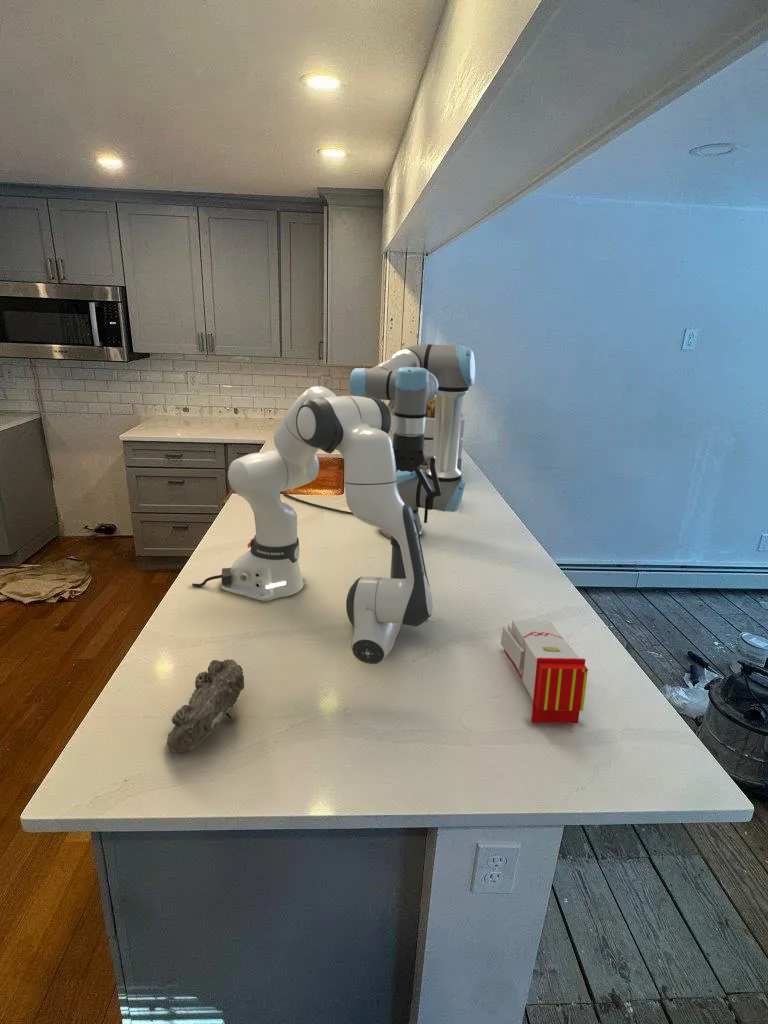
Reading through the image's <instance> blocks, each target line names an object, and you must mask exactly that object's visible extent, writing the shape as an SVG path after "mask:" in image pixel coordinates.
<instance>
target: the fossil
mask: <svg viewBox="0 0 768 1024" xmlns="http://www.w3.org/2000/svg"><path fill="white" fill-rule="evenodd" d="M243 670H244V669H243V667H242V665H240V664H237V662H236V661H235V660H234V659H232V658H231V659H227V658H226V659H224V660H223V661H222V660H217V659H212V660H211V661H210V663H209V665H208V666H207V671H201V672H199V673H198V674H197V675H196V676H195V680H194V684H195V685H194V687H195V689H194V690H193V693H192V694H191V697H190V698H189V700H188V704H184V705H182V706H181V707H180V709H177V710H176V711H175V713H174V715H173V716H172V718H171V723H172V724H173V727H172V730H171V731H170V732H168V734H167V738H166V741H167V742H166V745H167V749H168V750H169V751H173V752H174V753H176V754H178V753H182V752H188V751H189V752H192V751H193V750H195V748H196V747H197V746H199V744H200V743H201V742H203V741H204V740H205V739H206V738H207V737H208V736H209V735H210V734H211V733H212V732H214V730H215V729H217V727H218V726H219V724H220V722H221V721H222V720H223V719H224V718H225V716H226V717H227V719H229V720H233V717H232V715H230V714H229V710H230V709H231V708H234V706H235V704H236V703H237V702H238V699H239V697H240V695H241V693H242V691H243V690H245V689H244V688H245V675H244V671H243Z"/></svg>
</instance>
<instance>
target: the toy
mask: <svg viewBox="0 0 768 1024" xmlns="http://www.w3.org/2000/svg"><path fill="white" fill-rule="evenodd" d="M500 645H501V646H502V648H503V652H504V654H505V655H506V657H507V658H508V660H509V661H510V663H511V664H512V666H513V668H514V669H515V671H516V672H517V674H518V676H519V677H520V679H521V680H522V683H523V685H524V686H525V688H526V690H527V692H528V694H529V696H530V697H531V699H532V708H531V719H530V722H531V723H532V724H579V719H580V712H583V711H584V706H585V697H586V689H587V680H588V671H589V669H588V667H587V666H586V659H585V658H580V657H579V656H578V655H577V654H576V652H575V651H574V650H573V648H572V647H571V646H570V645H569V644H568V642H567V641H566V640H565V638H564V637H563V636H562V634H561V633H560V632H559V631H558V630H557V628H556V627H555V626H554V624H553V623H552V622H551V621H549V620H548V621H545V620H540V621H539V620H511V622H508V623H507V626H502V632H501V638H500Z"/></svg>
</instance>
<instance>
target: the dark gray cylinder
mask: <svg viewBox="0 0 768 1024" xmlns="http://www.w3.org/2000/svg"><path fill="white" fill-rule="evenodd" d="M390 559H391V561H390V578H394V579H405V578H406V574H405V569H404V563H403V558H402V553H401V548H396V547H393V546H392V545H391V558H390Z"/></svg>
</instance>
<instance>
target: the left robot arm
mask: <svg viewBox="0 0 768 1024" xmlns="http://www.w3.org/2000/svg"><path fill="white" fill-rule="evenodd" d="M387 405H388V404H387V403H386V402H385V401H384V400H380V399H377V398H373V397H368V396H366V397H359V396H353V395H336V394H335V393H334V392H333V391H332V390H330V389H329V388H327V387H325V386H320V385H314V386H311V387H309V388H307V389H306V390H304V391H303V393H301V394H300V395H299V396H298V397H297V398H296V400H295V401H294V402H293V403H292V405H291V406H290V407H289V408H288V410H287V411H286V413H285V415H284V416H283V417H282V419H281V421H280V423H279V424H278V426H277V427H276V429H275V431H274V433H273V443H274V446H275V448H274V449H270V450H265V451H259V452H253V453H248V454H245V455H242V456H241V457H238V458H236V459H234V460H232V462H231V463H230V464H229V467H228V471H227V480H228V484H229V486H230V488H231V489H232V491H233V492H234V493H235V494H236V495H238V496H239V497H241V498H243V499H244V500H245V501H246V502H247V503H248V504H249V506H250V508H251V510H252V513H253V517H254V526H255V534H254V536H253V537H252V539H250V541H249V542H248V543H247V549H249V548H250V549H249V550H248V551H246V552H245V553H243V554H242V555H241V556H239V557H237V559H236V560H235V561H233V563H232V565H231V567H222V568H221V574H219V575H213V576H209V577H207V578H205V579H204V580H203V582H201V583H191V586H192V587H195V588H200V587H204V586H205V585H206V584H207V582H209V581H212V580H216V579H221V590H223V591H225V592H230V593H234V594H236V595H240V596H244V597H248V598H252V599H255V600H259V601H262V602H269V601H272V600H275V599H279V598H285V597H289V596H293V595H295V594H297V593H299V592H300V591H301V590H302V589H303V588H304V586H305V585H304V581H303V577H302V574H301V568H300V562H299V561H300V560H299V559H300V539H299V537H298V514H297V512H296V510H295V509H294V508H293V507H292V506H291V505H290V504H287V503H286V502H283V501H282V499H281V493H280V492H285V491H289V490H293V489H296V488H301V487H304V486H306V485H308V484H309V483H311V482H313V481H315V480H316V479H317V477H318V476H319V472H320V463H319V458H318V456H317V455H316V453H317V452H318V451H319V450H321V451H323V452H325V453H326V454H332V453H333V452H334V451H335V450H336V451H338V452H339V453H340V454H341V456H342V458H343V462H344V494H345V501H346V506H347V507H348V510H349V512H352V513H353V514H354V515H353V516H355V517H356V519H358V520H359V521H361V522H363V523H365V524H367V525H369V526H371V527H374V528H377V529H378V530H379V529H381V530H383V531H385V532H387V533H389V534H390V535H392V536H393V537H394V538H395V539H396V540H397V541H398V543H399V545H400V548H401V553H402V558H403V563H404V569H405V574H406V578H405V579H394V578H391V577H382V576H381V577H379V576H360V577H358V578H357V579H356V580H355V581H354V582H353V583H352V584H351V586H350V588H349V589H348V592H347V595H346V602H345V608H346V609H345V610H346V616H347V618H348V621H349V623H350V625H351V626H352V628H353V629H354V630H353V637H352V641H351V652H352V654H353V656H354V658H356V659H357V660H358V661H360V662H362V663H363V664H368V665H377V664H380V663H382V662H383V661H384V660H385V659H386V658H387V657H388V655H389V654H390V653H391V650H392V649H393V646H394V644H395V643H396V640H397V635H398V634H399V632H400V629H401V627H402V625H403V626H409V627H419V626H421V625H422V624H424V623H428V622H429V621H430V618H431V617H432V615H433V608H434V597H433V593H432V589H431V586H430V583H429V578H428V575H427V569H426V564H425V559H424V554H423V548H422V543H421V538H420V537H421V536H420V537H419V533H418V528H417V523H416V519H415V516H414V513H413V511H412V509H411V507H409V506H408V505H406V504H404V502H403V501H402V499H401V497H400V495H399V492H398V488H397V472H396V462H395V455H394V449H393V445H392V441H391V438H390V436H389V435H388V433H389V430H390V427H391V415H390V411H389V409H388V407H387Z"/></svg>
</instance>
